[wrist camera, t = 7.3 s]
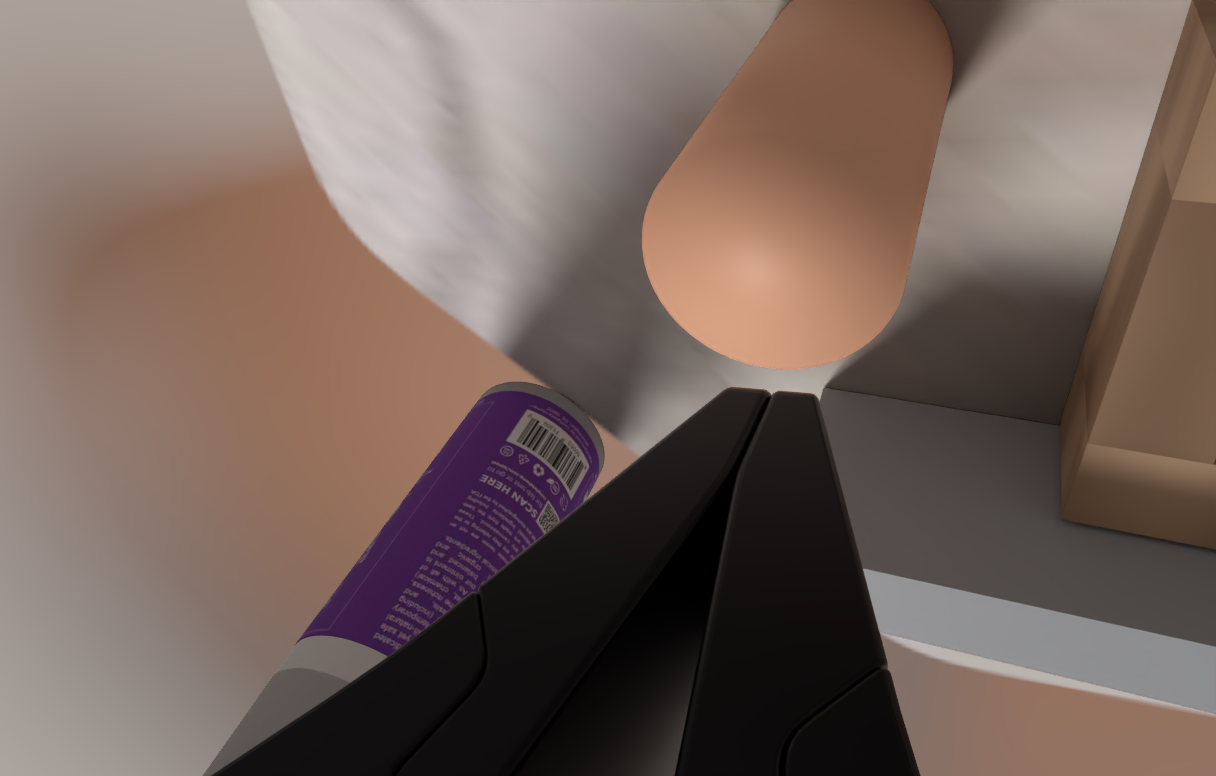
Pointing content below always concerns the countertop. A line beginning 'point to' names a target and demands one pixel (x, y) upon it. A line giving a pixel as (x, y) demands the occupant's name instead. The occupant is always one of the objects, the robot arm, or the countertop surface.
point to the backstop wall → (1014, 553)
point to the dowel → (805, 185)
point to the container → (438, 545)
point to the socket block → (1156, 330)
